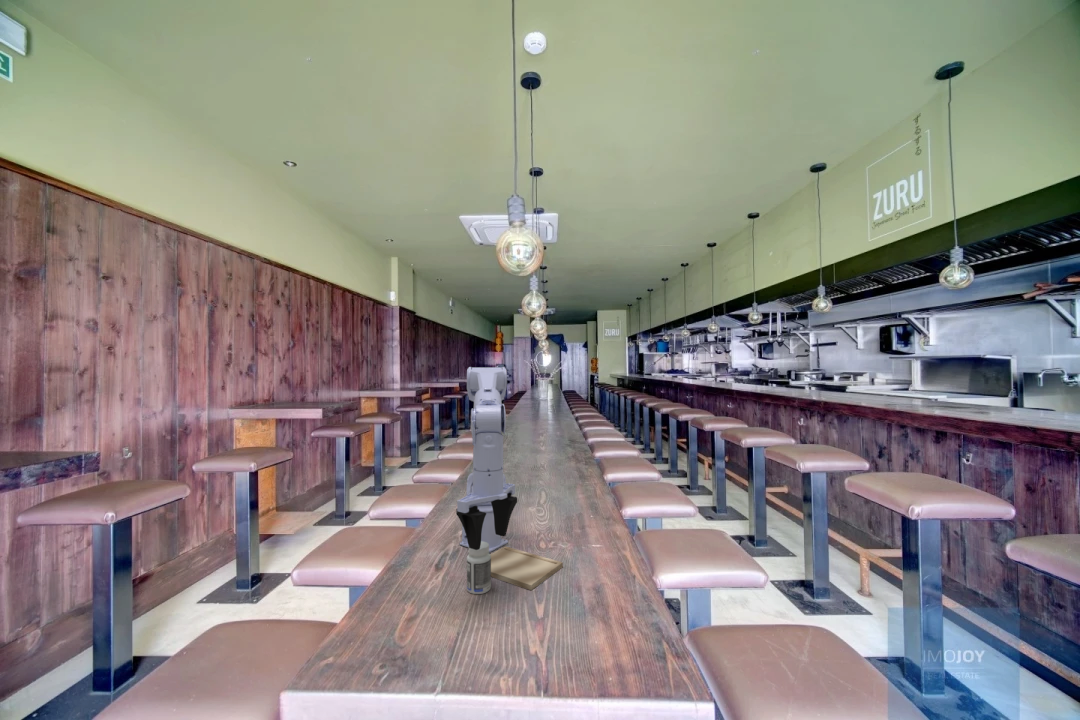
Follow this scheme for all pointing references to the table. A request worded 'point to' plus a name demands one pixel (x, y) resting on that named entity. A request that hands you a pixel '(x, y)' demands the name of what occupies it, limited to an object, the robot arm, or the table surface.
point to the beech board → (522, 567)
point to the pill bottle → (479, 569)
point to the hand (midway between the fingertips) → (488, 541)
